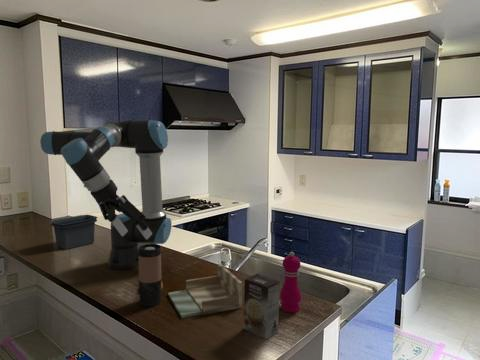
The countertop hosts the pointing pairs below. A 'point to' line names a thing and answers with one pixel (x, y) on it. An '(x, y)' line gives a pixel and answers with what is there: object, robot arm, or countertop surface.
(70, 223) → the storage bin
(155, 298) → the travel mug
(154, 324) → the countertop surface
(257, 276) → the coffee box
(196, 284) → the stepped plastic tray
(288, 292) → the pepper mill
